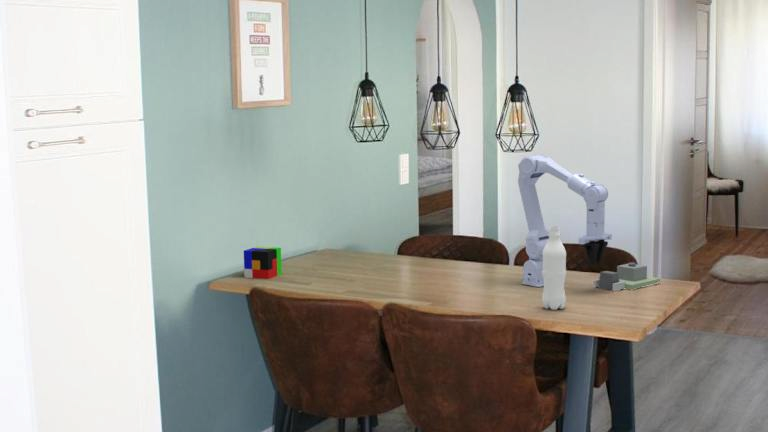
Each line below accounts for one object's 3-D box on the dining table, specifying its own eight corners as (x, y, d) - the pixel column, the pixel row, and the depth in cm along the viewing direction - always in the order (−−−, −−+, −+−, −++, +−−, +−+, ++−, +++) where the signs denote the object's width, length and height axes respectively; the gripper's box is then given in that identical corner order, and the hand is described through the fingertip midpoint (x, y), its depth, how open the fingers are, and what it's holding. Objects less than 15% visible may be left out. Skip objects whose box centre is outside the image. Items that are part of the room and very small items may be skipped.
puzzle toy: (244, 277, 349) (243, 250, 348) (258, 272, 359) (257, 246, 357) (268, 279, 346) (267, 251, 344) (281, 274, 355) (280, 247, 354)
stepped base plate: (621, 292, 312) (621, 271, 311) (589, 286, 322) (589, 265, 321) (660, 283, 325) (660, 262, 324) (628, 278, 335) (629, 258, 334)
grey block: (611, 290, 316) (611, 274, 315) (599, 288, 319) (599, 272, 319) (618, 288, 318) (619, 272, 317) (606, 286, 322) (607, 270, 321)
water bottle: (551, 311, 287) (552, 229, 283) (537, 307, 293) (537, 226, 290) (570, 308, 290) (571, 227, 287) (556, 304, 296) (556, 224, 293)
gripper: (590, 225, 304) (590, 267, 305) (619, 221, 313) (618, 262, 314) (573, 223, 309) (573, 264, 311) (602, 219, 318) (601, 259, 320)
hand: (595, 263), depth 313 cm, fingers closed
